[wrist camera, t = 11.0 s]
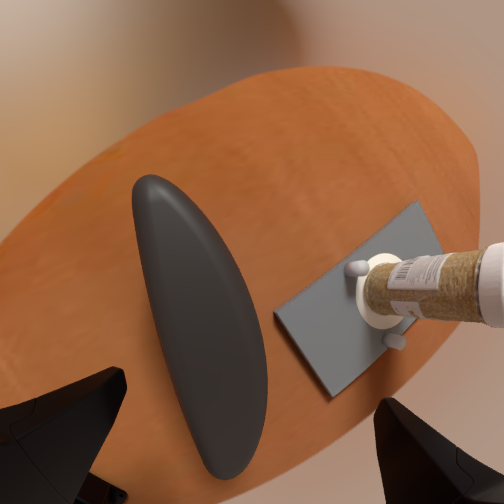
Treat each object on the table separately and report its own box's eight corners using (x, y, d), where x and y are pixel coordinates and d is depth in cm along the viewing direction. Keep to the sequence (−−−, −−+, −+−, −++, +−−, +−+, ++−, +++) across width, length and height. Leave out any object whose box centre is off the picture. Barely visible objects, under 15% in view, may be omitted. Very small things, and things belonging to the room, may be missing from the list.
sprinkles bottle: (370, 324, 21) (509, 346, 8) (355, 273, 22) (499, 257, 9) (407, 301, 22) (536, 303, 9) (393, 254, 23) (525, 229, 9)
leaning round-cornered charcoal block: (259, 405, 20) (298, 470, 11) (203, 419, 19) (213, 494, 10) (210, 205, 21) (223, 149, 12) (151, 217, 20) (122, 169, 11)
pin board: (327, 393, 21) (344, 405, 18) (273, 311, 21) (285, 315, 18) (446, 274, 25) (465, 273, 22) (411, 202, 25) (431, 194, 22)
